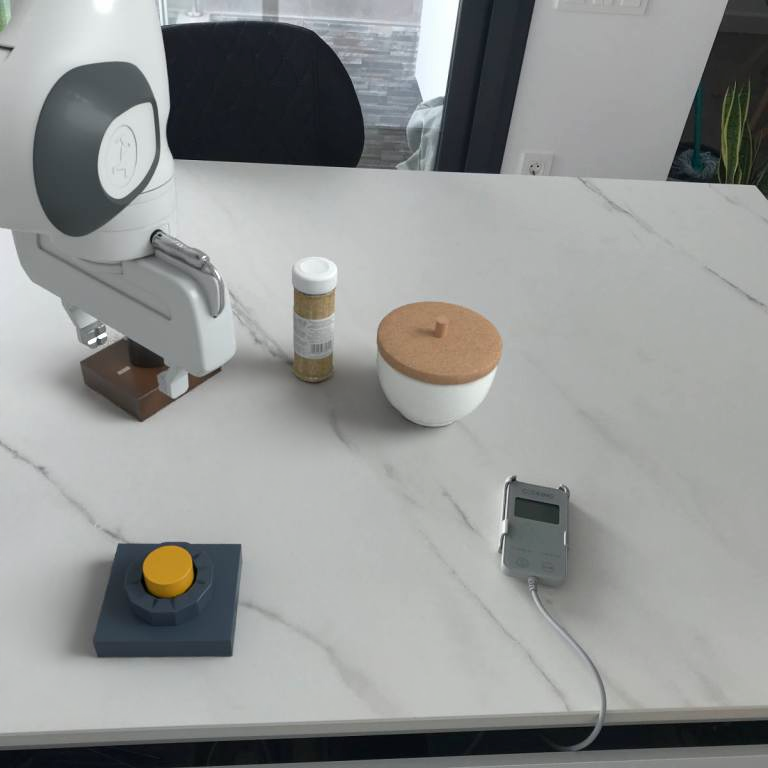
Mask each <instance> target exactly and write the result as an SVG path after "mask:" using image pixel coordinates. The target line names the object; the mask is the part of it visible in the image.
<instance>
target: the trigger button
mask: <svg viewBox="0 0 768 768" xmlns="http://www.w3.org/2000/svg"><path fill="white" fill-rule="evenodd" d="M143 573H144V578H145V583H146V587H147V589H148V590H149V592H150V593H152V594H153V595H155V596H157V597H160V598H172V597H176V596H178V595H180V594H182V593H184V592H185V591H186V590H187V589H188V588H189V587H190V586H191V584H192V582H193V578H194V572H193V565H192V559H191V556H190V554H189V553H188V552H187V551H186V550H185V549H183V548H181V547H178V546H164V547H160V548H158V549H156V550H154V551H153V552H151V553H150V554H149V555H148V556H147V558H146V559H145V561H144V564H143Z"/></svg>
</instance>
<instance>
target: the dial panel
mask: <svg viewBox="0 0 768 768" xmlns="http://www.w3.org/2000/svg"><path fill="white" fill-rule="evenodd" d="M79 364H80V370H81V374H82V378H83V383H84V385H86V386H87V387H89V388H90V389H92V390H93V391H95V392H96V393H97V394H99V395H100V396H102V397H104V398H105V399H107V400H108V401H109V402H111V403H113V404H114V405H116V406H117V407H119V408H120V409H121V410H124V411H125V412H126V413H128V414H129V415H131V416H132V417H134V418H136V419H137V420H139V421H140V422H141V423H142V422H145V421H146V420H147V419H149V418H150V417H152V416H154V415H155V414H156V413H158V412H160V411H162V410H163V409H165V408H167V406H169V405H171V404H172V403H173V402H175V401H177V400H178V399H179V398H182V397H183V396H185V395H187V393H189V392H190V391H192V390H194V389H195V388H197V387H199V386H200V385H201V384H203V383H205V382H207V381H208V380H209V379H211V378H212V377H214V376H215V375H217V374H219V373H220V372H221V371H222V366H220V367H219V368H217V369H215V370H214V371H212V372H210V373H208V374H206V375H204V376H202V377H196V376H194V375H192V374H190V373H188V385H189V386H188V389H187V391H186V392H185V393H183V394H182V395H180V396H179V397H177V398H175V399H173V398H171V397H169V396H168V395H166V394H165V393H163V392H162V391H160V390H159V388H158V386H159V383H158V379H157V375H158V374H160V373H161V372H163V371H167V370H168V368H170V366H169V367H168V366H167V365H165V364H163V365H160V366H157V367H140V366H137V365H135V364H134V363H132V361H131V360H130V358H129V353H128V347H127V341H126V336H124V337H122V338H120V339H118V340H117V341H115V342H113V343H111V344H109V345H107V346H105V347H104V348H102V349H100V350H98V351H96V352H95V353H92V354H91V355H89V356H87V357H86V358H84V359H82V360H80V361H79Z"/></svg>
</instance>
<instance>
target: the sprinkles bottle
mask: <svg viewBox="0 0 768 768" xmlns="http://www.w3.org/2000/svg"><path fill="white" fill-rule="evenodd" d="M291 284H292V287H293V306H292V307H293V308H292V315H293V316H292V321H293V322H292V325H293V327H292V329H293V332H292V333H293V335H292V336H293V337H292V338H293V343H292V347H293V364H292V371H293V374H294V375H295V377H297V379H300V380H301V381H305V382H308V383H319V382H322V381H325V380H328V378H330V377H331V376H332V375H333V372H334V363H333V359H334V344H335V343H334V341H335V317H336V315H335V313H336V312H335V311H336V289H337V285H338V267H337V265H336V264H335V263H334V262H333V261H332V260H330V259H328V258H327V257H326V258H325V257H321V256H307V257H306V256H305V257H303V258H300V259H298V260H297V261H296V262H294V264H293V265H292V268H291Z"/></svg>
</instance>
